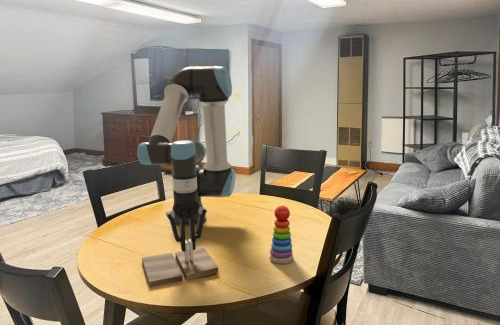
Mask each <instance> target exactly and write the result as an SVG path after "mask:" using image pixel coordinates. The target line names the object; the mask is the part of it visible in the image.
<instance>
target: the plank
mask: <svg viewBox="0 0 500 325" xmlns="http://www.w3.org/2000/svg"><path fill="white" fill-rule="evenodd" d="M188 255H189V248H188ZM175 258H176V259H175V260H176V262H178V263H177V264H179V265H178V266H179V268H180V270H181V272H182V273H183V276H184V277H185V278H186V280H187V281H189V280H194V279H197V278H198V279H199V278H201V277H206V276H210V275H214V274H218V273H219V267H218V266H217V264H216V262H215V261H214V259H213V258H212V257H211V255H210V254H209V252H208V250H206V248H205V246H199V247H197V246H196V249H195V250H193V261H191V260H190V258H189V262H186V260H185V254H184V252H182V250H180V251H179V250H178V251H175Z"/></svg>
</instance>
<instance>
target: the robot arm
mask: <svg viewBox="0 0 500 325" xmlns="http://www.w3.org/2000/svg"><path fill="white" fill-rule="evenodd" d="M232 89H233V86H232V79H231V75H230V72H229V70H228V68H227V67H225V66H221V65H220V66H217V65H210V66H209V65H208V66H205V65H204V66H187V67H184V68H181V69H180V70H178V71H177V72H175V74H173V75H172V77H171V78H170V79H169V80H168V81H167V83H166V85H165V87H164V90H163V94H164V97H163V101H162V104H161V106H160V109H159V111H158V115H157V117H156V119H155V120H156V121H155V122H154V126H153V128H152V130H151V134H150V135H149V136H150V137H149V138H148V141H145V142H141V143H140V144H138V146H137V150H136V155H137V160H138V162H139V163H140V164H141V165H147V166H148V165H150V166H158V165H159V166H165V165H166V166H167V165H168V166H171V172H172V173H171V174H172V175H171V176H172V180H171V181H172V191H173V192H172V194H173V204H172V205H173V206H172V209H171V210H170V211H167V212H165V215H166V218H168V220H169V222H170V226H171V230H172V234H173V237H174V239H175V242H176V243H180V249H181V250H180V251H182V252H184V254H185V260H186V262H189V258H190V260H191V261H193V250H195V249H196V248H197V246H196V243H197V240H198V239H201V238H202V235H203V234H202V233H203V227H204V221H205V220H206V219H207V211H208V210H207V209H206V208H205V207H204V206H203V203H202V197H203V198H204V197H206V198H225V197H226V198H229V197H231V196H232V195H233V193H234V192H233V191H234V188H235V184H236V183H235V182H236V170H235V169H232V165H231V163H230V162H229V161H228V149H227V147H228V146H227V129H226V108H225V106H226V103H227V102H229V97H231V96H232V95H233V90H232ZM190 97H194V98H195V97H198V102H199V103H200V104H201V105H202V108H203V125H204V126H203V127H204V140H205V141H204V142H205V144H203V143H202V142H200V141H198V140H177V141H176V140H175V141H173V138H174V135H175V132H176V129H177V126H178V122H179V120H180V116H181V114H182V110H183V107H184V104H185V103H187V101H188V100H189V98H190ZM172 141H173V142H172ZM205 157H206V158H205ZM204 159H206V163H204V165H203V168H201V167H200V165H199V164H201V162H203V160H204ZM176 225H179V232H178V228H177V226H176ZM186 226H188V227H189V237H190V238H188V240H187V239H186ZM195 226H196V227H195ZM195 228H196V230H195ZM188 249H189V255H188Z"/></svg>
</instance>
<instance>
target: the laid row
mask: <svg viewBox="0 0 500 325" xmlns="http://www.w3.org/2000/svg"><path fill="white" fill-rule="evenodd" d="M141 263H142V266H143V270H144V274H145V276H146V280H147V283H148V286H149V288H154V287H159V286H162V285H169V284H174V283H179V282H183V281H184V274H182V273H183V272H182V270H181V268H180V266H179V265H178V263H177V260H176V259H175V256H174V254H173V252H169V253H162V254H157V255H151V256H145V257H142V258H141Z"/></svg>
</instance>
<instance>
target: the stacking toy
mask: <svg viewBox="0 0 500 325" xmlns="http://www.w3.org/2000/svg"><path fill="white" fill-rule="evenodd" d="M290 214H291V212H290V209H289V208H288V207H287V206H285V205H279V206H277V207H276V208H275V209H274V217H275V220H274V226H273V233H272V236H273V237H272V239H271V242H272V243H271V245H270V246H271V248H270V250H269V259H270V261H271V262H272V263H275V264H282V265H283V264H285V265H286V264H290V263H291V262H292V261H293V260H294V254H293V244H292V234H291V232H290V231H291V227H290V220H288V219H289V218H290V216H291V215H290Z"/></svg>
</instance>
